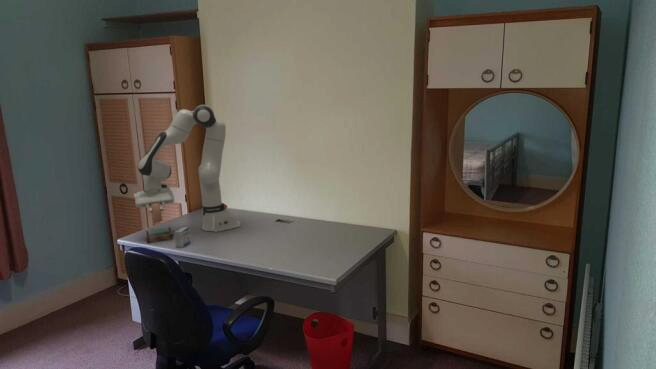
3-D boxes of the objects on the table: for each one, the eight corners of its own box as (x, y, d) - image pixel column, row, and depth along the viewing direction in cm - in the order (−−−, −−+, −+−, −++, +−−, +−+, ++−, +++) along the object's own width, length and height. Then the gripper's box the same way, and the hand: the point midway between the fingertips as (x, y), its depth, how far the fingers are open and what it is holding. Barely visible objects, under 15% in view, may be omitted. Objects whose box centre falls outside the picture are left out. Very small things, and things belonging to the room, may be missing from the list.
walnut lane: (170, 232, 270) (170, 227, 269) (172, 239, 257) (172, 234, 256) (146, 235, 265) (146, 230, 264) (147, 243, 252) (146, 238, 251)
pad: (165, 227, 278) (165, 227, 278) (167, 232, 269) (166, 231, 269) (153, 229, 276) (153, 229, 276) (154, 234, 267) (154, 233, 267)
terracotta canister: (161, 219, 259) (159, 202, 256) (162, 221, 255) (159, 203, 252) (153, 220, 257) (150, 203, 255) (153, 222, 253) (151, 204, 251)
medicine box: (183, 247, 243) (181, 231, 242) (175, 247, 244) (173, 231, 242) (190, 242, 251) (188, 227, 249) (183, 242, 252) (181, 226, 250)
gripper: (132, 189, 254) (135, 210, 248) (171, 184, 262) (175, 205, 255) (134, 195, 259) (136, 216, 253) (172, 190, 267) (175, 211, 260)
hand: (156, 211), depth 254 cm, fingers closed on terracotta canister, 4 cm apart
